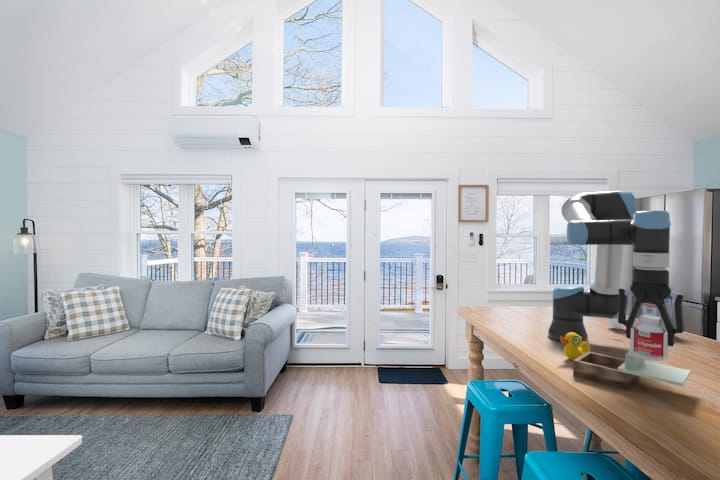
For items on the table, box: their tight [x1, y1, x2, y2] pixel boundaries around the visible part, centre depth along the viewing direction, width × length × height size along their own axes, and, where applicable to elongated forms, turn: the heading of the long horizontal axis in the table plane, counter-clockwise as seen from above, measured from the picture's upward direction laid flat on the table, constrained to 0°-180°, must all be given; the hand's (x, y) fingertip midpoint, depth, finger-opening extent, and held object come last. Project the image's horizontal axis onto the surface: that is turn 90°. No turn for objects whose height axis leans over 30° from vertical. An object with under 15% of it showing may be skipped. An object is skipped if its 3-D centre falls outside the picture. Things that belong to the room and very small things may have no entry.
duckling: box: [559, 332, 591, 361], centre depth 127 cm, size 11×5×10 cm, turn 98°
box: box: [572, 351, 640, 391], centre depth 112 cm, size 14×14×5 cm
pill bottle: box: [634, 314, 665, 362], centre depth 94 cm, size 6×6×11 cm
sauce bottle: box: [606, 312, 628, 330], centre depth 172 cm, size 8×8×18 cm
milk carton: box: [641, 295, 673, 332], centre depth 166 cm, size 10×6×20 cm, turn 179°
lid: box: [618, 350, 691, 387], centre depth 103 cm, size 14×14×5 cm
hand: (649, 353), depth 94 cm, fingers closed on pill bottle, 6 cm apart
